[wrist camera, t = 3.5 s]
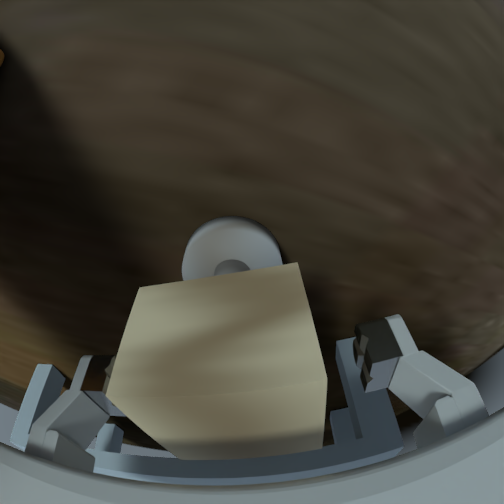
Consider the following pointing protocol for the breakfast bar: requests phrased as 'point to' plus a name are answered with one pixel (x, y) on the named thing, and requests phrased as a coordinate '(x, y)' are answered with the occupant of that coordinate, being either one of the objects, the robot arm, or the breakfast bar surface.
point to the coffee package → (1, 57)
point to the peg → (224, 352)
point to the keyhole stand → (250, 469)
